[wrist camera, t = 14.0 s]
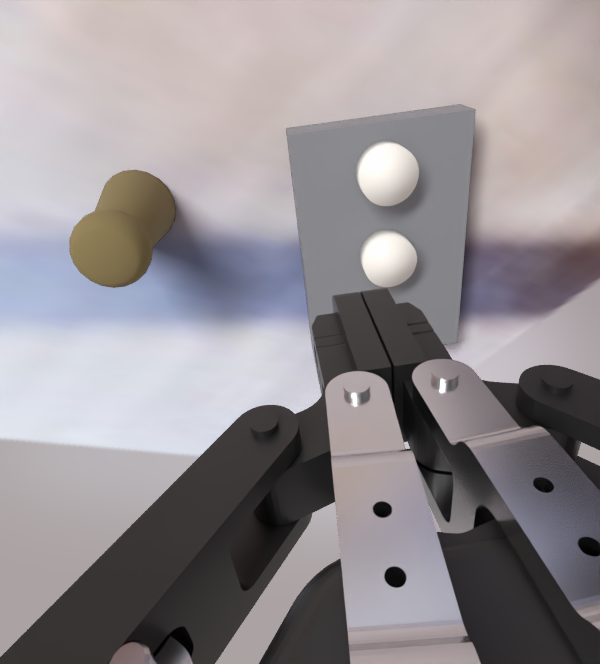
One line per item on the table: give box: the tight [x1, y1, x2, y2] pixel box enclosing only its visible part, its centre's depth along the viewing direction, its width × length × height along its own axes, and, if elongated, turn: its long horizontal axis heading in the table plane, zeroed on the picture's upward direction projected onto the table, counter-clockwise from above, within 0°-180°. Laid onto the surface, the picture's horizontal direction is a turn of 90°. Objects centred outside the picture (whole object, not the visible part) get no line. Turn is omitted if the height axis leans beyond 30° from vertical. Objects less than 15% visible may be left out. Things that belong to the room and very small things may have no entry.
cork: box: [70, 170, 176, 288], centre depth 35 cm, size 6×6×11 cm
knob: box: [355, 141, 419, 206], centre depth 37 cm, size 4×4×5 cm
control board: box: [286, 104, 476, 363], centre depth 42 cm, size 21×14×3 cm, turn 7°
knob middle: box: [359, 229, 417, 287], centre depth 41 cm, size 4×4×5 cm
